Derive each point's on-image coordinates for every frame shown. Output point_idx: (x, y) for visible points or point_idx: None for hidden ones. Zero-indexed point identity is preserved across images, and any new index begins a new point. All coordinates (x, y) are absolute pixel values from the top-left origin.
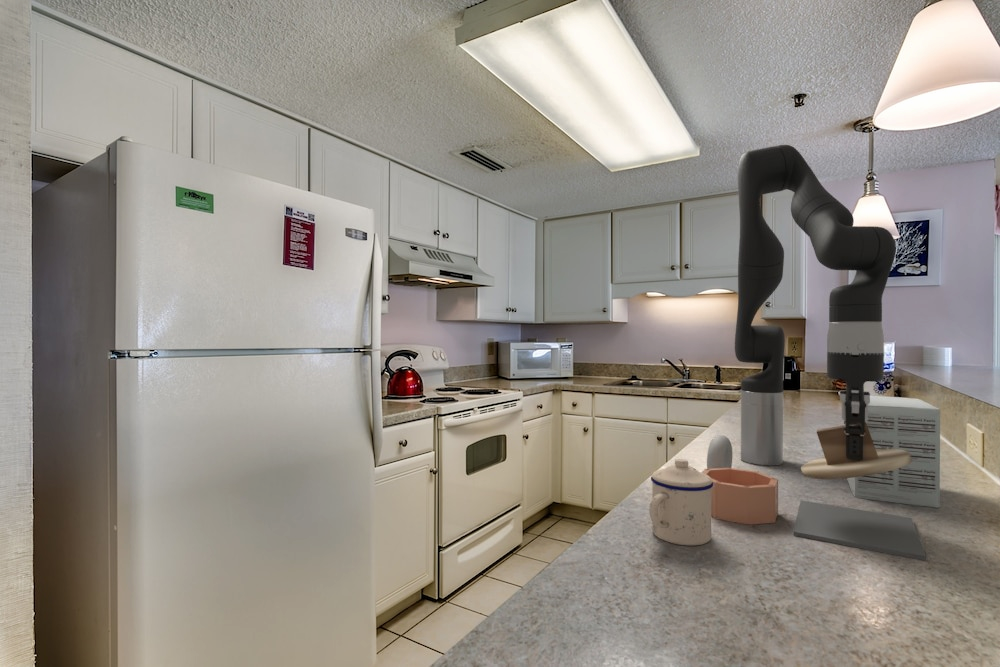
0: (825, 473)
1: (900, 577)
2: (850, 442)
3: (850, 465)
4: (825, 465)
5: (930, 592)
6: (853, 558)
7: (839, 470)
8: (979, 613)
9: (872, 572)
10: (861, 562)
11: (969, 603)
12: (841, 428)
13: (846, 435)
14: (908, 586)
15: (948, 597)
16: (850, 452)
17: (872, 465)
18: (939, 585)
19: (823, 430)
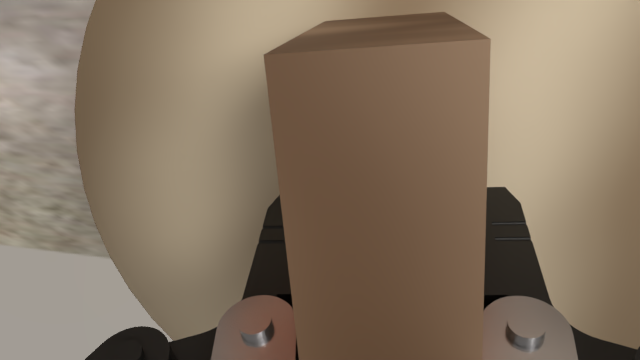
0: (91, 27)
1: (46, 134)
2: (254, 277)
3: (229, 170)
4: (327, 4)
5: (19, 179)
6: (70, 33)
7: (111, 113)
8: (4, 233)
9: (13, 80)
10: (59, 54)
11: (35, 227)
12: (298, 322)
13: (250, 302)
14: (8, 146)
15: (27, 202)
16: (264, 220)
17: (167, 275)
18: (78, 195)
19: (300, 142)
